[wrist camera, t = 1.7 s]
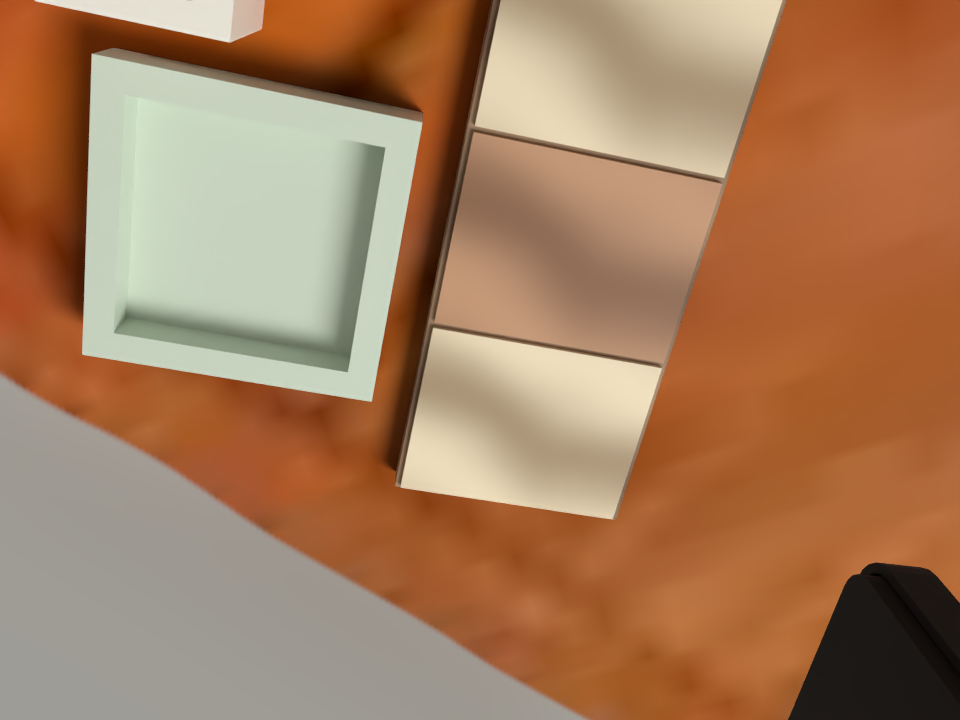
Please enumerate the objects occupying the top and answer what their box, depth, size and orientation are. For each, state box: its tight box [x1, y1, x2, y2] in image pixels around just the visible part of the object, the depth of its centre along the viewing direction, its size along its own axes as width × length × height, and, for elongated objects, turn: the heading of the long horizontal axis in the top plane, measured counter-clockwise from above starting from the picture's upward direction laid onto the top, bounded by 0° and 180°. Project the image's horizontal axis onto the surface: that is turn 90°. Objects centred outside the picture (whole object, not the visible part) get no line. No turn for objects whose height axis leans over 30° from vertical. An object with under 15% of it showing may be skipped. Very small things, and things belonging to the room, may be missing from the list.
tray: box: [82, 48, 423, 402], centre depth 30 cm, size 10×10×2 cm
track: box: [395, 0, 786, 519], centre depth 31 cm, size 21×9×1 cm, turn 168°
